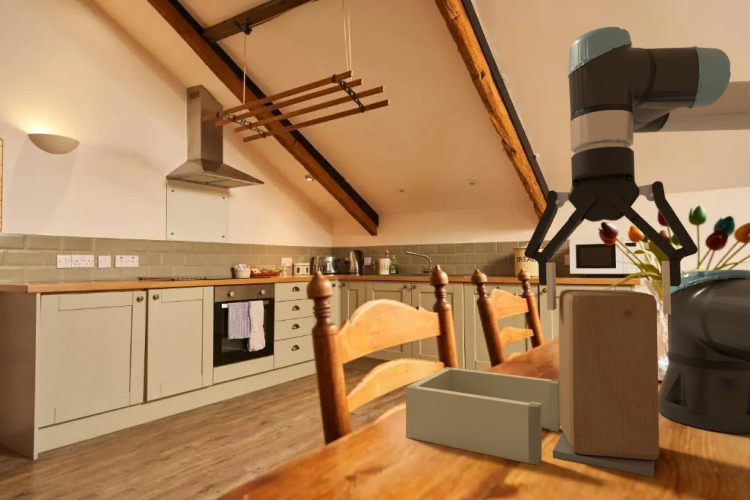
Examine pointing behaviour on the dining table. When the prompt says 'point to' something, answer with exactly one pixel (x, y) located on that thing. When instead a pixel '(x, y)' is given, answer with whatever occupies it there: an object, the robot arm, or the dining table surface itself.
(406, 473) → the dining table surface
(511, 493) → the dining table surface
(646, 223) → the robot arm
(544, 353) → the dining table surface
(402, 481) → the dining table surface
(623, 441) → the wooden block
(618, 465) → the trivet
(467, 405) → the crate
